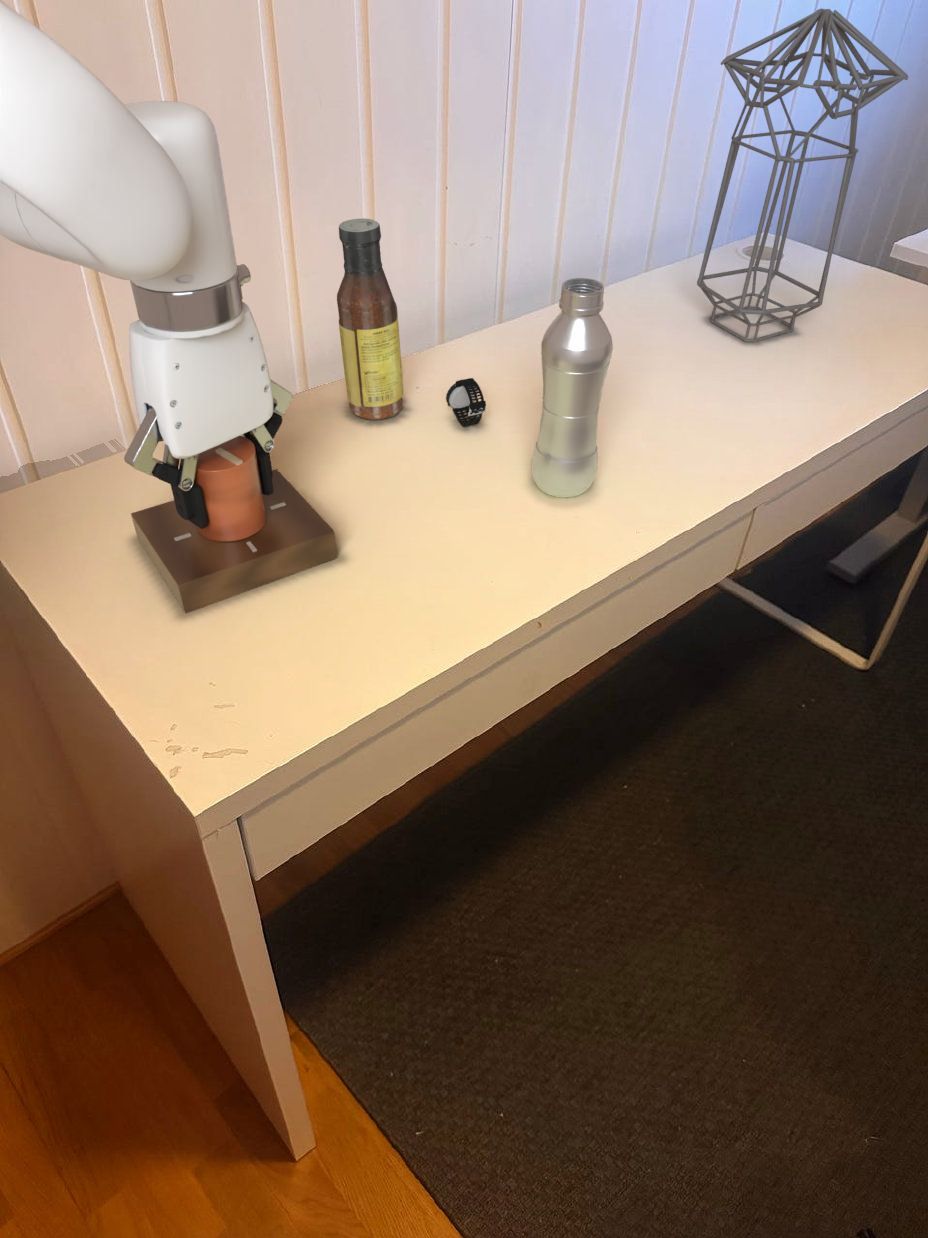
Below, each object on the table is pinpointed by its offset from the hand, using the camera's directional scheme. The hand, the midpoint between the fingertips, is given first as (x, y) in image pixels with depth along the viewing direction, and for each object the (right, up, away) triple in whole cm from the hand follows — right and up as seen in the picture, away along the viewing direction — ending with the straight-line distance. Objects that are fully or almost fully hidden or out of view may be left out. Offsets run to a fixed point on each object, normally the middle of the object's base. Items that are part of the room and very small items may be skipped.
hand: (228, 502), depth 77 cm
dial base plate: (0, -4, +3) cm, 5 cm away
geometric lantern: (+59, +29, +42) cm, 78 cm away
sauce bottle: (+10, +13, +23) cm, 29 cm away
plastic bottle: (+30, +3, +12) cm, 32 cm away
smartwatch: (+20, +11, +21) cm, 31 cm away
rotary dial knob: (0, -1, +1) cm, 2 cm away
